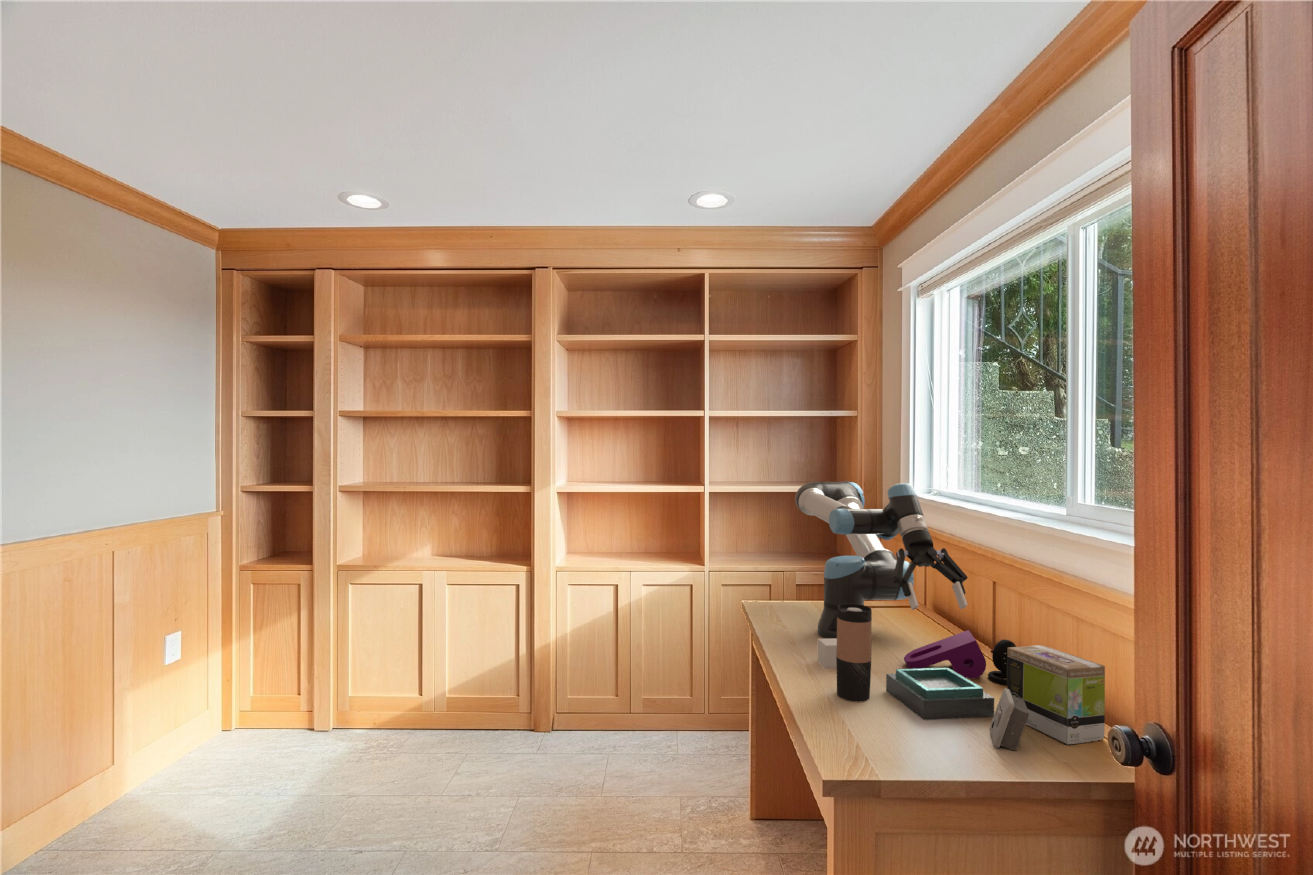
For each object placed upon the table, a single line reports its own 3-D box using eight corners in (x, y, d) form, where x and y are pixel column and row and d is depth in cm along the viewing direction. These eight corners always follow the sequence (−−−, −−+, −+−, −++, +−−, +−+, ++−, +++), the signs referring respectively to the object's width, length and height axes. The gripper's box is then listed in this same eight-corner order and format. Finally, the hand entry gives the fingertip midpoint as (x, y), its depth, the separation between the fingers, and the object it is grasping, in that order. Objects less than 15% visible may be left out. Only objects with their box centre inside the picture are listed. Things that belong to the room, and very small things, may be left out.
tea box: (1106, 740, 129) (1107, 665, 129) (1066, 746, 126) (1067, 669, 126) (1041, 710, 143) (1042, 642, 143) (1004, 715, 140) (1005, 645, 140)
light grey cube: (825, 669, 168) (825, 645, 168) (817, 661, 174) (817, 638, 174) (848, 668, 168) (848, 645, 168) (839, 660, 174) (839, 638, 174)
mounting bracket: (920, 696, 166) (991, 672, 161) (905, 665, 167) (976, 640, 162) (916, 683, 175) (983, 660, 171) (902, 653, 176) (968, 629, 172)
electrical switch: (989, 729, 133) (994, 684, 132) (1018, 737, 131) (1023, 691, 130) (993, 749, 124) (999, 701, 124) (1024, 757, 122) (1030, 708, 122)
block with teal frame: (886, 691, 153) (886, 667, 153) (950, 688, 155) (950, 665, 155) (923, 719, 137) (923, 693, 137) (993, 716, 139) (994, 690, 139)
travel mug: (871, 692, 152) (872, 605, 152) (870, 704, 145) (871, 613, 145) (836, 687, 154) (838, 602, 155) (834, 699, 147) (835, 609, 147)
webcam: (1008, 688, 156) (1009, 646, 156) (980, 678, 163) (981, 637, 163) (1029, 683, 160) (1029, 642, 160) (1000, 673, 166) (1001, 633, 167)
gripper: (878, 528, 179) (900, 602, 166) (963, 528, 182) (991, 600, 170) (867, 541, 185) (888, 613, 172) (950, 540, 188) (976, 611, 176)
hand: (939, 607), depth 171 cm, fingers open, 13 cm apart
